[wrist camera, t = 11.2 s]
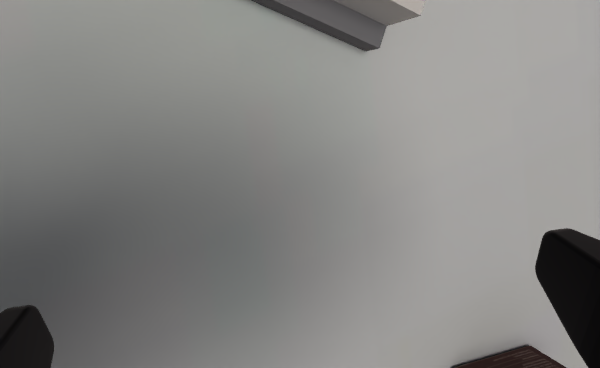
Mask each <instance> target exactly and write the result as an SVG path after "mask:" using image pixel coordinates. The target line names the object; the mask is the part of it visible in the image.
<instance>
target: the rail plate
mask: <svg viewBox="0 0 600 368" xmlns="http://www.w3.org/2000/svg"><path fill="white" fill-rule="evenodd" d="M252 1H254V2H257V3H259V4H261V5H263V6H266V7H268V8H270V9H272V10H275V11H277V12H279V13H281V14H284V15H286V16H288V17H290V18H293V19H295V20H297V21H299V22H302V23H304V24H306V25H308V26H311V27H313V28H315V29H317V30H320V31H322V32H324V33H326V34H329V35H331V36H333V37H335V38H338V39H340V40H342V41H344V42H347V43H349V44H351V45H353V46H356V47H358V48H360V49H362V50H365V51H369V50H374V49H378V48H380V45H381V42H382V39H383V36H384V33H385V29H386V26H388V25H391V24H395V23H398V22H401V21H405V20H408V19H411V18H415V17H418V16H421V14H422V11H423V8H424V4H425V1H426V0H252Z"/></svg>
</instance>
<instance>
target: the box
mask: <svg viewBox="0 0 600 368" xmlns="http://www.w3.org/2000/svg"><path fill="white" fill-rule="evenodd" d="M455 368H566V367H564V366H563V365H561V364H560V363H558V362H556V361H555V360H553V359H551V358H550V357H548V356H547V355H545V354H543V353H542V352H540V351H539V350H537V349H535V348H534V347H532V346H526V347H522V348H519V349H515V350H512V351H508V352H505V353H502V354H499V355H496V356H492V357H489V358H485V359H482V360H478V361H474V362H471V363H467V364H464V365H460V366H458V367H455Z"/></svg>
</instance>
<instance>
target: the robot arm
mask: <svg viewBox="0 0 600 368" xmlns="http://www.w3.org/2000/svg"><path fill="white" fill-rule="evenodd" d="M535 270H536V275H537V278H538V280H539V282H540V284H541V286H542V287H543V289H544V291H545V293H546V295H547V297H548V298H549V300H550V302H551V304H552V306H553V308H554V309H555V311H556V313H557V315H558V317H559V319H560V320H561V322H562V324H563V326H564V328H565V330H566V331H567V333H568V335H569V337H570V339H571V340H572V342H573V344H574V346H575V347H576V349H577V351H578V352H579V354H580V355H581V357H582V358H583V360H584V362H585V363H586V365H587V366H588V368H600V240H598V239H595V238H593V237H590V236H588V235H585V234H583V233H580V232H578V231H575V230H572V229H567V228H566V229H558V230H551V231H548V232H546V233H545V234H544V235H543V238H542V241H541V245H540V249H539V253H538V257H537V261H536V265H535ZM53 352H54V342H53V338H52V336H51V334H50V332H49V330H48V328H47V326H46V324H45V322H44V320H43V318H42V316H41V314H40V312H39V310H38V309H37V308H36V307H35V306H32V305H26V306H19V307H12V308H8V309H6V310H4V311H3V312H1V313H0V368H51V363H52V358H53Z"/></svg>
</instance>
